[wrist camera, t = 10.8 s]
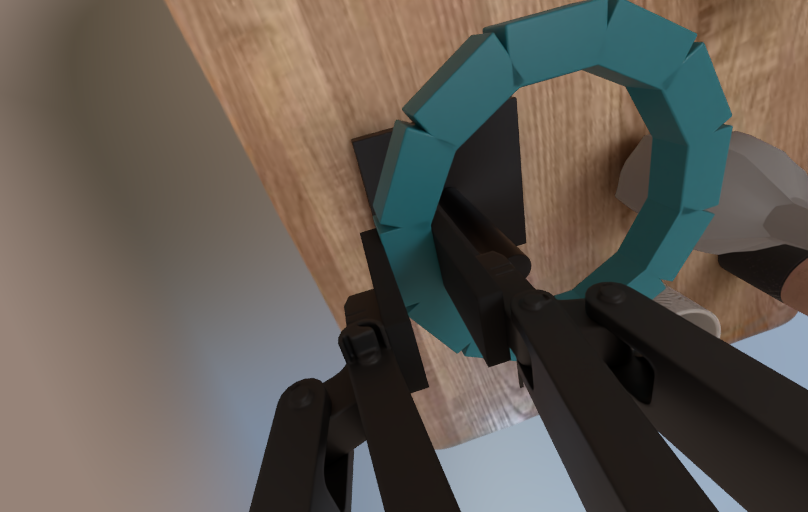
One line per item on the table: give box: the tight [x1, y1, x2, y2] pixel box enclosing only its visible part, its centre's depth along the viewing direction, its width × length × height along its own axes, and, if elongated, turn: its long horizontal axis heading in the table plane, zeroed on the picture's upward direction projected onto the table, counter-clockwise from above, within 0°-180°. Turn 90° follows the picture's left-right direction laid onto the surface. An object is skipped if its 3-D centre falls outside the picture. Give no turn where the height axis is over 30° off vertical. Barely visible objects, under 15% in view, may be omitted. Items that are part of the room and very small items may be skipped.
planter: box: [652, 283, 721, 339], centre depth 49 cm, size 12×12×11 cm
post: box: [351, 96, 531, 278], centre depth 34 cm, size 16×16×16 cm
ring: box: [373, 0, 733, 361], centre depth 17 cm, size 15×15×2 cm
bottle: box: [615, 131, 808, 255], centre depth 32 cm, size 11×11×30 cm
